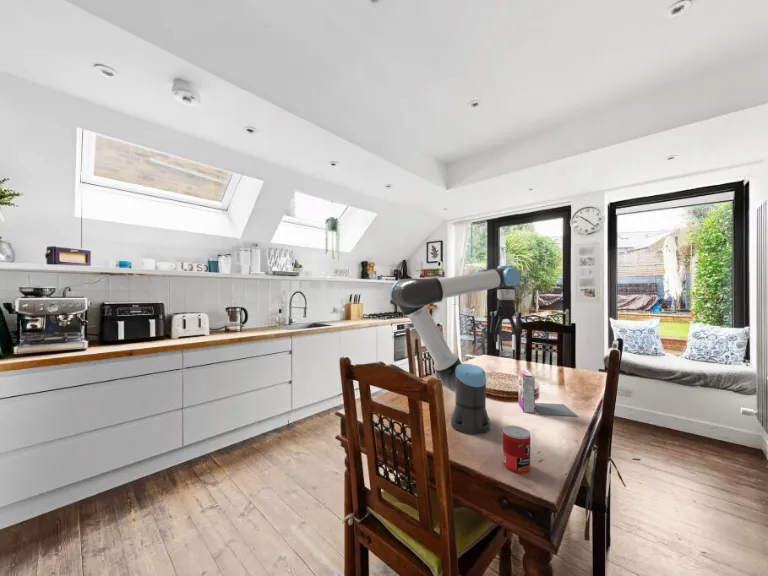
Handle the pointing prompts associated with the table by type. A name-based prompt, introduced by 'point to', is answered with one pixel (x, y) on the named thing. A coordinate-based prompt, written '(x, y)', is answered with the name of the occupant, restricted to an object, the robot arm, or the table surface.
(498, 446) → the table surface
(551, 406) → the mat
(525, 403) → the candy bar box
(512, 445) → the canned food
